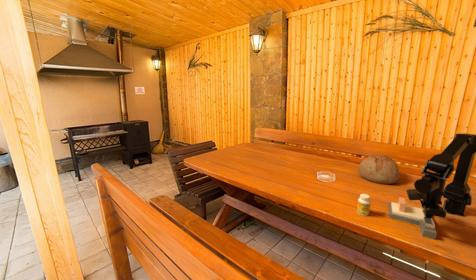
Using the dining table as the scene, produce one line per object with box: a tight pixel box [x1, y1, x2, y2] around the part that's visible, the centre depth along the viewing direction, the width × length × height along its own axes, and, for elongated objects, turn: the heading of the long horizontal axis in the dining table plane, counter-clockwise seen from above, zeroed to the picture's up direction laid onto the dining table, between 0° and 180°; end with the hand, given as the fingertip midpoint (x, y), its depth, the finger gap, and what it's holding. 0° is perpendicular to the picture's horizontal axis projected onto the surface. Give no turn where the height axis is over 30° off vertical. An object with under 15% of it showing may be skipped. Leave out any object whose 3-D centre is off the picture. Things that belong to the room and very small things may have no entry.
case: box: [387, 202, 437, 240], centre depth 95 cm, size 16×20×3 cm
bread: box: [358, 154, 401, 185], centre depth 140 cm, size 26×23×15 cm
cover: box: [390, 197, 425, 220], centre depth 98 cm, size 12×10×6 cm
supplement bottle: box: [356, 193, 372, 217], centre depth 101 cm, size 5×5×10 cm
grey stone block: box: [423, 217, 436, 230], centre depth 88 cm, size 3×5×2 cm, turn 147°
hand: (426, 219), depth 91 cm, fingers closed
